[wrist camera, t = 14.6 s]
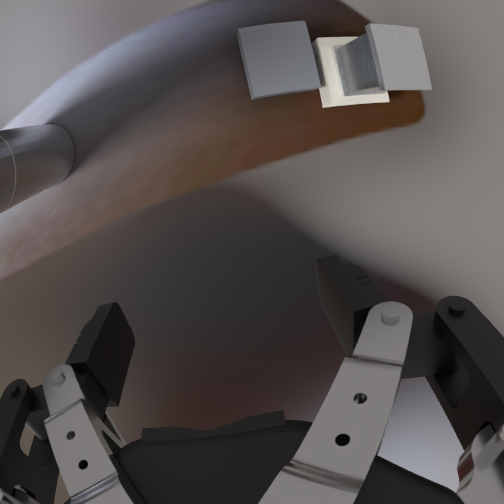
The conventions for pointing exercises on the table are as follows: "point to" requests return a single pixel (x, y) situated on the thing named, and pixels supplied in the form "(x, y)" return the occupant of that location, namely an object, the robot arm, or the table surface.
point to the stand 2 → (329, 76)
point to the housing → (382, 61)
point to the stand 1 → (278, 59)
